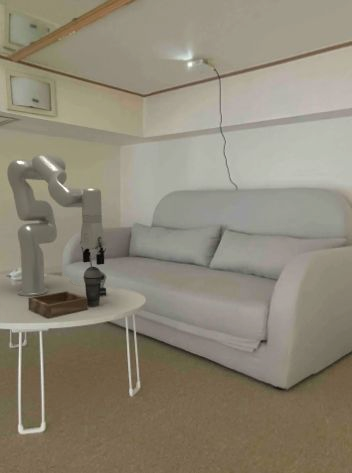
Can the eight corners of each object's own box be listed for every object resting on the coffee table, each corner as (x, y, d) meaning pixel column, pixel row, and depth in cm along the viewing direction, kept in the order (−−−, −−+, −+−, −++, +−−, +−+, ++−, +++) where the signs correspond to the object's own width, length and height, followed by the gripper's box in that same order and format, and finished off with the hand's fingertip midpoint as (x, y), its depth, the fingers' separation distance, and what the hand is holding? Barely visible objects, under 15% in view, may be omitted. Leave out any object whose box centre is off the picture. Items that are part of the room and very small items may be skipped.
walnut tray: (28, 309, 143) (28, 297, 143) (66, 301, 154) (66, 291, 154) (48, 318, 132) (47, 306, 131) (87, 309, 143) (87, 298, 143)
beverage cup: (94, 308, 144) (93, 257, 143) (79, 306, 148) (79, 256, 146) (106, 304, 151) (105, 255, 149) (92, 302, 154) (91, 254, 153)
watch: (96, 297, 161) (96, 272, 160) (88, 294, 168) (88, 270, 167) (108, 295, 165) (108, 271, 164) (100, 292, 171) (100, 268, 170)
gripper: (72, 220, 150) (73, 262, 151) (96, 220, 138) (97, 266, 139) (88, 219, 155) (89, 260, 156) (112, 219, 143) (114, 264, 144)
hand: (93, 263), depth 148 cm, fingers open, 9 cm apart
